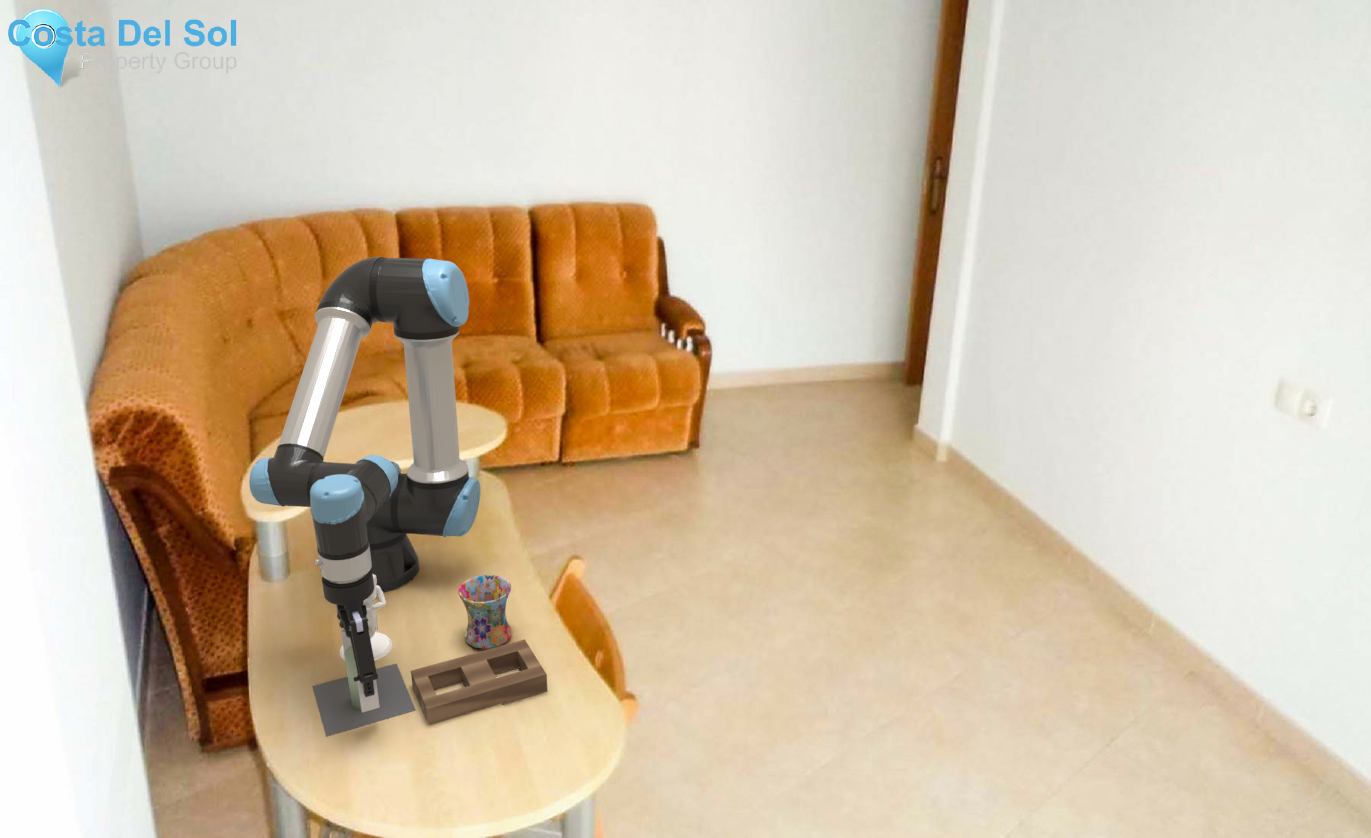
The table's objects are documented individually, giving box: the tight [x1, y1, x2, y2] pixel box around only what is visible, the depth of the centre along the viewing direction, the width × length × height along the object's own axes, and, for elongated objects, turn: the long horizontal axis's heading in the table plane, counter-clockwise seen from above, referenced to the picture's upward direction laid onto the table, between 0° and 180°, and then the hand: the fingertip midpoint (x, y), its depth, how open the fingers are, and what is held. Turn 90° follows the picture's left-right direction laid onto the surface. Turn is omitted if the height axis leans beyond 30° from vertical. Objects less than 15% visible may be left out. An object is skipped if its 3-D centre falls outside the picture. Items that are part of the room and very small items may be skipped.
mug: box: [457, 574, 513, 650], centre depth 180 cm, size 12×9×11 cm
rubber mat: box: [312, 662, 417, 737], centre depth 164 cm, size 14×14×1 cm
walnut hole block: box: [410, 639, 548, 726], centre depth 166 cm, size 11×20×4 cm, turn 118°
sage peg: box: [344, 646, 361, 709], centre depth 161 cm, size 4×4×10 cm
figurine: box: [339, 574, 393, 662], centre depth 174 cm, size 10×10×18 cm
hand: (362, 684), depth 162 cm, fingers open, 13 cm apart
